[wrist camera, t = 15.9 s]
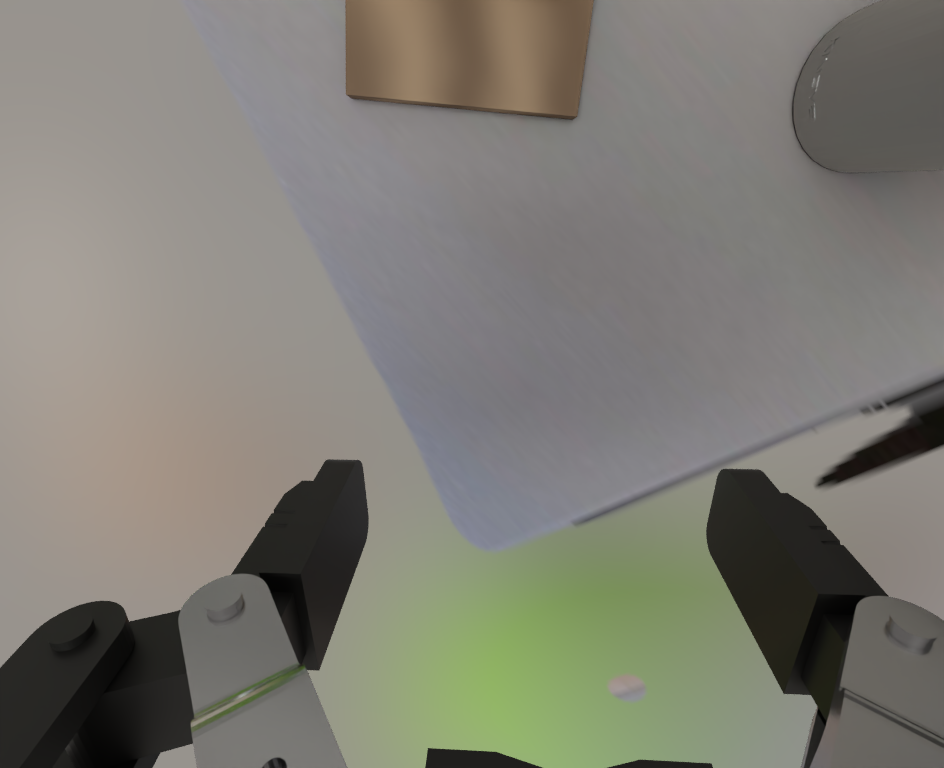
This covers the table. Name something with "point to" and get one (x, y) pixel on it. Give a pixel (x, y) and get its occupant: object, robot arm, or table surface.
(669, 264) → the table surface
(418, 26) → the collar board
